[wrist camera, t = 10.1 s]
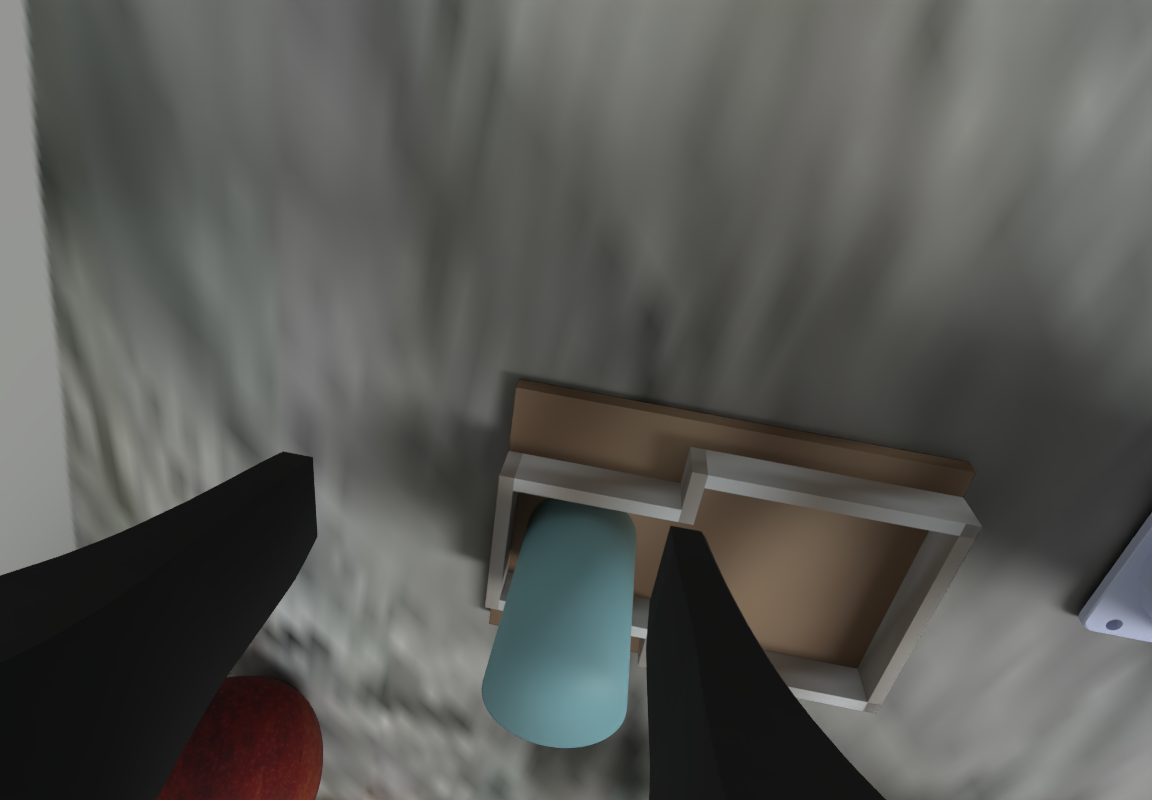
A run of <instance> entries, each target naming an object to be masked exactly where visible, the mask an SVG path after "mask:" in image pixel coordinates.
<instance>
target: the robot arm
mask: <svg viewBox="0 0 1152 800" xmlns="http://www.w3.org/2000/svg"><path fill="white" fill-rule="evenodd" d="M316 538H317V521H316V504H315V487H314V470H313V457H309V456H303V455H298V454H293V453H288V452H282V453H279V454H277V455H275V456H273V457H271V458H269V459H267V460H265V461H263V462H261V463H259V464H257V465H255V466H254V467H252V468H250V469H248V470H246V471H244V472H242V473H240V474H238V475H237V476H235V477H233V478H231V479H229V480H227V481H225V482H223V483H221V484H220V485H218V486H216V487H214V488H212V489H210V490H208V491H206V492H204V493H202V494H200V495H198V496H196V497H194V498H193V499H191V500H189V501H187V502H185V503H183V504H180V505H178V506H176V507H174V508H172V509H170V510H168V511H166V512H164V513H161V514H159V515H157V516H155V517H153V518H151V519H149V520H147V521H145V522H142V523H140V524H138V525H136V526H134V527H132V528H129V529H127V530H125V531H123V532H120V533H118V534H115V535H113V536H111V537H108V538H106V539H103V540H101V541H98V542H96V543H93V544H91V545H88V546H85V547H83V548H80V549H78V550H75V551H72V552H70V553H67V554H65V555H62V556H59V557H56V558H53V559H50V560H47V561H44V562H41V563H38V564H35V565H32V566H29V567H26V568H22V569H20V570H16V571H13V572H10V573H7V574H4V575H1V576H0V800H157V798H158V796H159V794H160V792H161V790H162V788H163V787H164V785H165V783H166V781H167V779H168V777H169V775H170V774H171V772H172V770H173V768H174V766H175V764H176V762H177V761H178V759H179V757H180V755H181V753H182V751H183V750H184V748H185V746H186V744H187V742H188V741H189V739H190V737H191V735H192V734H193V732H194V730H195V728H196V727H197V725H198V723H199V721H200V720H201V718H202V716H203V714H204V713H205V711H206V709H207V707H208V706H209V704H210V702H211V700H212V699H213V697H214V695H215V694H216V692H217V691H218V689H219V688H220V686H221V685H222V683H223V681H224V680H225V678H226V677H227V675H228V674H229V673H230V671H231V670H232V668H233V667H234V665H235V664H236V663H237V661H238V660H239V658H240V657H241V656H242V654H243V653H244V651H245V650H246V649H247V647H248V646H249V644H250V643H251V642H252V640H253V639H254V637H255V636H256V635H257V633H258V632H259V630H260V629H261V628H262V626H263V625H264V623H265V622H266V621H267V619H268V618H269V616H270V615H271V614H272V612H273V611H274V609H275V608H276V606H277V605H278V603H279V602H280V601H281V599H282V598H283V596H284V595H285V593H286V592H287V591H288V589H289V588H290V586H291V585H292V583H293V582H294V580H295V579H296V577H297V575H298V573H299V571H300V569H301V567H302V566H303V564H304V562H305V560H306V558H307V556H308V554H309V552H310V550H311V548H312V546H313V544H314V542H315V540H316ZM1079 620H1080V621H1081V623H1082V624H1083V626H1084V627H1085V628H1086V629H1088V630H1091V631H1095V632H1100V633H1105V634H1110V635H1116V636H1121V637H1126V638H1131V639H1137V640H1142V641H1147V642H1152V513H1151V514H1150V515H1149V517H1148V518H1147V520H1146V521H1145V522H1144V524H1143V525H1142V527H1141V528H1140V529H1139V531H1138V532H1137V534H1136V535H1135V536H1134V538H1133V539H1132V540H1131V542H1130V543H1129V545H1128V546H1127V547H1126V549H1125V550H1124V552H1123V553H1122V554H1121V556H1120V557H1119V559H1118V560H1117V561H1116V563H1115V564H1114V566H1113V567H1112V568H1111V570H1110V571H1109V573H1108V574H1107V575H1106V577H1105V578H1104V579H1103V581H1102V582H1101V584H1100V585H1099V586H1098V588H1097V589H1096V591H1095V592H1094V593H1093V595H1092V596H1091V598H1090V599H1089V600H1088V602H1087V603H1086V605H1085V606H1084V607H1083V609H1082V610H1081V612H1080V614H1079ZM646 669H647V696H648V722H649V748H650V794H649V800H886V799H885V798H884V797H883V796H882V795H881V794H880V793H879V792H878V791H877V790H876V789H875V788H874V787H873V786H872V785H871V784H870V783H869V782H868V781H867V780H866V779H865V778H864V777H863V776H862V775H861V774H860V773H859V772H858V771H857V770H856V768H855V767H854V766H853V765H852V764H851V763H850V762H849V761H848V760H847V759H846V758H845V757H844V755H843V754H842V753H841V752H840V751H839V750H838V748H837V747H836V746H835V745H834V744H833V743H832V741H831V740H830V739H829V738H828V737H827V736H826V734H825V733H824V732H823V731H822V730H821V729H820V727H819V726H818V725H817V724H816V723H815V722H814V721H813V719H812V718H811V717H810V715H809V714H808V713H807V712H806V710H805V709H804V708H803V706H802V705H801V704H800V703H799V701H798V700H797V699H796V697H795V696H794V694H793V693H792V692H791V690H790V689H789V687H788V686H787V685H786V683H785V682H784V681H783V679H782V678H781V676H780V675H779V673H778V672H777V670H776V669H775V667H774V666H773V664H772V663H771V661H770V660H769V658H768V657H767V655H766V653H765V652H764V650H763V648H762V647H761V645H760V644H759V642H758V640H757V639H756V637H755V635H754V634H753V632H752V630H751V629H750V627H749V625H748V623H747V622H746V620H745V618H744V616H743V614H742V612H741V611H740V609H739V607H738V605H737V603H736V601H735V599H734V598H733V596H732V594H731V592H730V590H729V588H728V586H727V584H726V582H725V580H724V578H723V576H722V574H721V571H720V569H719V567H718V565H717V563H716V561H715V558H714V556H713V554H712V552H711V549H710V547H709V545H708V542H707V540H706V537H705V536H704V534H703V533H702V531H697V530H692V529H687V528H681V527H676V526H671V525H670V529H669V533H668V536H667V540H666V544H665V547H664V551H663V554H662V558H661V562H660V565H659V569H658V573H657V576H656V580H655V584H654V587H653V591H652V595H651V598H650V604H649V615H648V627H647V641H646Z"/></svg>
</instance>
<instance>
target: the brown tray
mask: <svg viewBox="0 0 1152 800" xmlns="http://www.w3.org/2000/svg"><path fill="white" fill-rule="evenodd" d="M975 475H976V471H975V470H974V468H973V467H972V466H971V464H970V463H969V462H965V461H959V460H954V459H949V458H943V457H938V456H932V455H927V454H921V453H916V452H911V451H905V450H900V449H894V448H889V447H884V446H878V445H873V444H867V443H862V442H856V441H851V440H846V439H840V438H835V437H829V436H824V435H818V434H813V433H808V432H802V431H797V430H791V429H786V428H781V427H775V426H770V425H764V424H759V423H753V422H748V421H743V420H737V419H732V418H726V417H721V416H715V415H710V414H705V413H699V412H694V411H688V410H683V409H678V408H672V407H667V406H661V405H656V404H650V403H645V402H640V401H634V400H629V399H623V398H618V397H612V396H607V395H602V394H596V393H591V392H585V391H580V390H575V389H569V388H564V387H558V386H553V385H547V384H542V383H537V382H531V381H526V380H520V379H519V382H518V384H517V386H516V392H515V401H514V410H513V418H512V427H511V436H510V445H509V452H508V454H507V457H506V459H505V462H504V465H503V467H502V470H501V472H500V475H499V483H498V492H497V501H496V511H495V520H494V529H493V538H492V548H491V557H490V566H489V575H488V584H487V594H486V603H485V607H486V608H491V611H490V620H489V624H493V625H498V626H499V623H500V620H501V616H502V613H503V609H504V606H505V602H506V599H507V595H508V592H509V588H510V585H511V581H512V578H513V574H514V571H515V567H516V564H517V560H518V557H519V553H520V550H521V546H522V543H523V539H524V536H525V532H526V529H527V525H528V522H529V519H530V516H531V514H532V512H533V511H534V509H535V508H536V507H537V506H538V505H539V504H540V503H541V502H542V501H543V500H545V499H546V498H548V497H549V498H554V499H559V500H565V501H570V502H575V503H580V504H586V505H591V506H596V507H601V508H607V509H612V510H617V511H622V512H627V513H628V515H629V516H630V518H631V519H632V521H633V524H634V526H635V530H636V556H635V573H634V591H633V609H632V626H631V644H630V652H634V653H638V667H644V668H646V641H647V627H648V615H649V604H650V598H651V595H652V591H653V587H654V584H655V580H656V576H657V573H658V569H659V565H660V562H661V558H662V554H663V551H664V547H665V544H666V540H667V536H668V533H669V529H670V525H671V526H676V527H681V528H687V529H692V530H697V531H702V533H703V534H704V536H705V537H706V540H707V542H708V545H709V547H710V549H711V552H712V554H713V556H714V558H715V561H716V563H717V565H718V567H719V569H720V571H721V574H722V576H723V578H724V580H725V582H726V584H727V586H728V588H729V590H730V592H731V594H732V596H733V598H734V599H735V601H736V603H737V605H738V607H739V609H740V611H741V612H742V614H743V616H744V618H745V620H746V622H747V623H748V625H749V627H750V629H751V630H752V632H753V634H754V635H755V637H756V639H757V640H758V642H759V644H760V645H761V647H762V648H763V650H764V652H765V653H766V655H767V657H768V658H769V660H770V661H771V663H772V664H773V666H774V667H775V669H776V670H777V672H778V673H779V675H780V676H781V678H782V679H783V681H784V682H785V683H786V685H787V686H788V687H789V689H790V690H791V692H792V693H793V694H794V696H795V697H796V698H800V699H805V700H810V701H815V702H820V703H825V704H830V705H835V706H840V707H845V708H850V709H855V710H861V711H866V712H871V713H877V712H878V710H879V708H880V706H881V705H882V703H883V701H884V699H885V698H886V696H887V694H888V692H889V690H890V689H891V687H892V685H893V683H894V682H895V680H896V678H897V676H898V675H899V673H900V671H901V669H902V668H903V666H904V664H905V662H906V661H907V659H908V657H909V655H910V654H911V652H912V650H913V648H914V646H915V645H916V643H917V641H918V639H919V638H920V636H921V634H922V632H923V631H924V629H925V627H926V625H927V624H928V622H929V620H930V618H931V617H932V615H933V613H934V611H935V610H936V608H937V606H938V604H939V602H940V601H941V599H942V597H943V595H944V594H945V592H946V590H947V588H948V587H949V585H950V583H951V581H952V580H953V578H954V576H955V574H956V573H957V571H958V569H959V567H960V566H961V564H962V562H963V560H964V558H965V557H966V555H967V553H968V551H969V550H970V548H971V546H972V544H973V543H974V541H975V539H976V537H977V536H978V534H979V532H980V530H981V529H982V525H981V524H980V522H979V521H978V519H977V518H976V516H975V515H974V513H973V512H972V510H971V509H970V507H969V505H968V504H967V502H966V501H965V499H964V498H963V497H964V495H965V493H966V491H967V489H968V488H969V486H970V484H971V482H972V480H973V478H974V476H975Z"/></svg>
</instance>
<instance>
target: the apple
mask: <svg viewBox="0 0 1152 800" xmlns="http://www.w3.org/2000/svg"><path fill="white" fill-rule="evenodd" d="M322 766H323V742H322V734H321V730H320V726H319V722H318V719H317V717H316V714H315V712H314V710H313V708H312V707H311V705H310V703H309V702H308V701H307V700H306V699H305V697H304V696H303V695H302V694H301V693H299V692H298V691H297V690H296V689H294V688H292V687H291V686H289V685H287V684H285V683H282V682H280V681H277V680H274V679H271V678H265V677H259V676H236V677H228V678H225V680H224V681H223V683H222V685H221V686H220V688H219V689H218V691H217V692H216V694H215V695H214V697H213V699H212V700H211V702H210V704H209V706H208V707H207V709H206V711H205V713H204V714H203V716H202V718H201V720H200V721H199V723H198V725H197V727H196V728H195V730H194V732H193V734H192V735H191V737H190V739H189V741H188V742H187V744H186V746H185V748H184V750H183V751H182V753H181V755H180V757H179V759H178V761H177V762H176V764H175V766H174V768H173V770H172V772H171V774H170V775H169V777H168V779H167V781H166V783H165V785H164V787H163V788H162V790H161V792H160V794H159V796H158V798H157V800H315V798H316V795H317V792H318V789H319V785H320V780H321V774H322Z"/></svg>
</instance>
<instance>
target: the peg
mask: <svg viewBox="0 0 1152 800" xmlns="http://www.w3.org/2000/svg"><path fill="white" fill-rule="evenodd" d="M635 556H636V530H635V526H634V524H633V521H632V519H631V518H630V516H629V515H628V513H627V512H622V511H617V510H612V509H607V508H601V507H596V506H591V505H586V504H580V503H575V502H570V501H565V500H559V499H554V498H549V497H548V498H546V499H545V500H543V501H542V502H541V503H540V504H539V505H538V506H537V507H536V508H535V509H534V511H533V512H532V514H531V516H530V519H529V522H528V525H527V529H526V532H525V536H524V539H523V543H522V546H521V550H520V553H519V557H518V560H517V564H516V567H515V571H514V574H513V578H512V581H511V585H510V588H509V592H508V595H507V599H506V602H505V606H504V609H503V613H502V616H501V620H500V623H499V627H498V630H497V634H496V637H495V641H494V644H493V648H492V651H491V655H490V658H489V662H488V665H487V669H486V672H485V676H484V679H483V683H482V697H483V701H484V704H485V706H486V708H487V710H488V712H489V713H490V714H491V716H492V717H493V718H494V719H495V720H496V721H497V722H498V723H499V724H500V725H501V726H502V727H503V728H505V729H506V730H508V731H509V732H511V733H512V734H514V735H516V736H518V737H520V738H522V739H524V740H527V741H529V742H532V743H535V744H539V745H543V746H548V747H555V748H576V747H584V746H588V745H592V744H595V743H598V742H600V741H602V740H604V739H606V738H608V737H609V736H611V735H612V734H613V733H614V732H616V731H617V730H618V728H619V727H620V726H621V724H622V723H623V721H624V719H625V716H626V711H627V697H628V679H629V662H630V644H631V626H632V609H633V591H634V573H635Z"/></svg>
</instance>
